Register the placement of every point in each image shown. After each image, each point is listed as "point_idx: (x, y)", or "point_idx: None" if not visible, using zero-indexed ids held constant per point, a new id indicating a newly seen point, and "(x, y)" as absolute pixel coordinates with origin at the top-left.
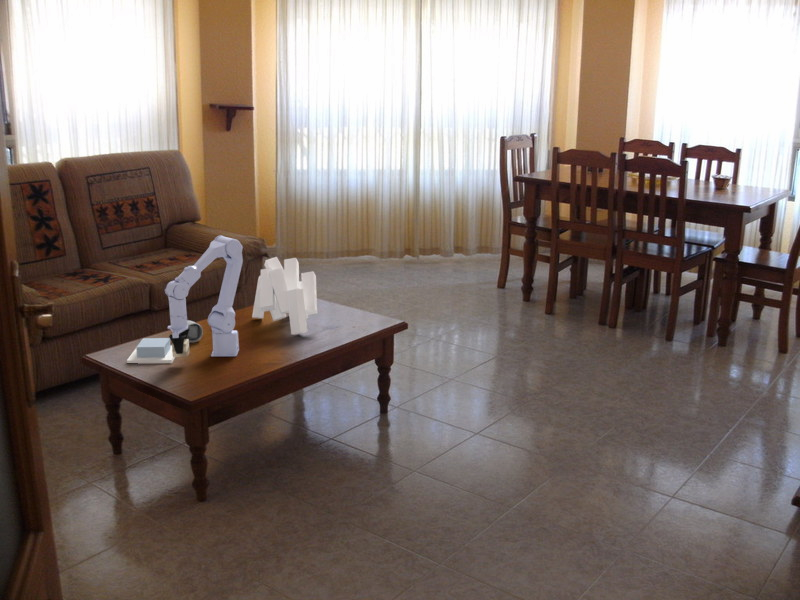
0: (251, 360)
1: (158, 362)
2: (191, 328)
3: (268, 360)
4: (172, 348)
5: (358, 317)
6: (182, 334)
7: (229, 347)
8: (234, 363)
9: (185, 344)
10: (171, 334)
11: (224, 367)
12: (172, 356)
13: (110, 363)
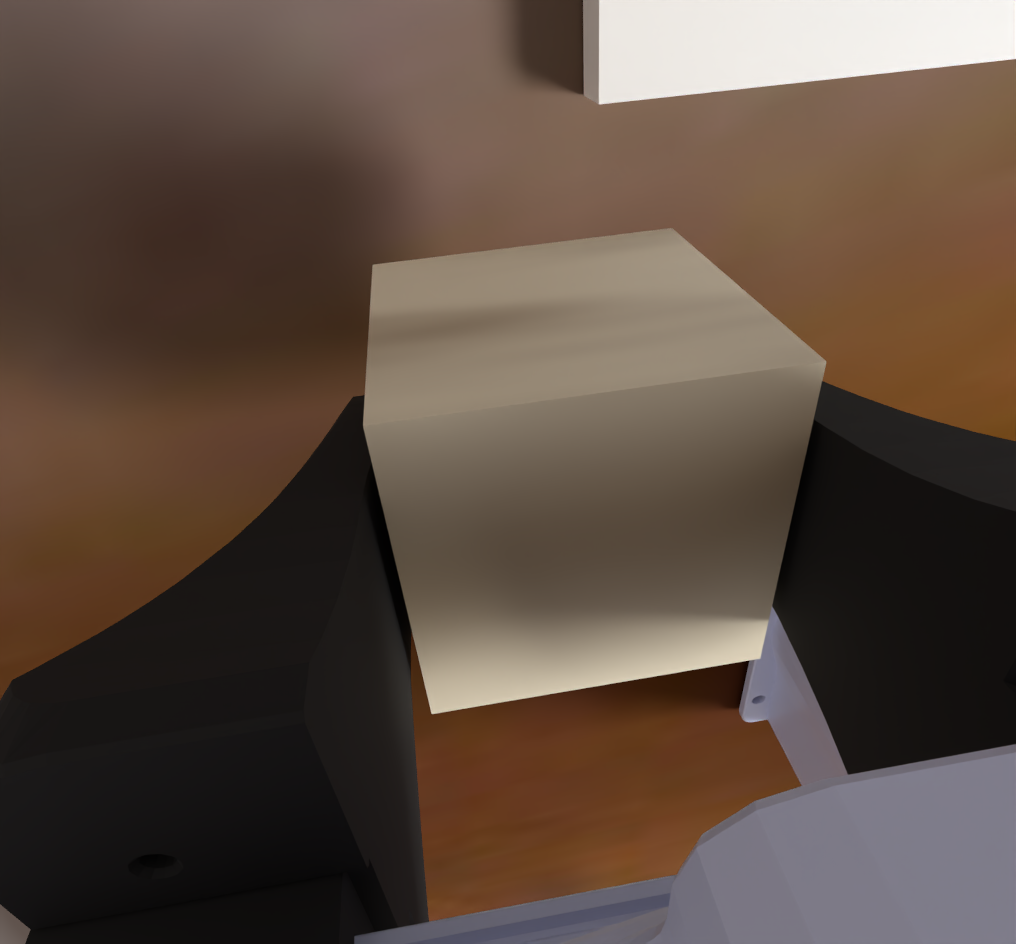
0: (634, 804)
1: None
2: None
3: (626, 867)
4: (369, 362)
5: None
6: (868, 659)
7: (811, 747)
8: (567, 743)
9: (426, 691)
10: (319, 762)
11: (458, 715)
12: (794, 57)
13: None
